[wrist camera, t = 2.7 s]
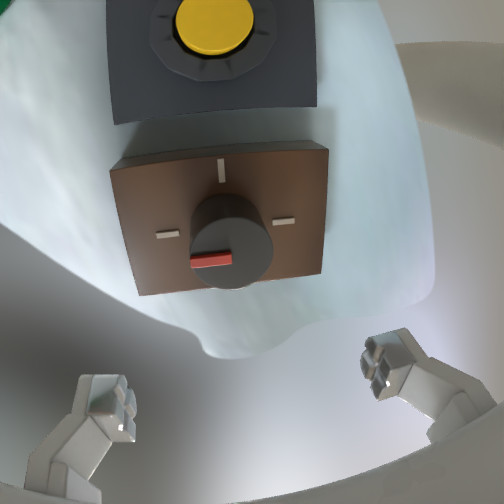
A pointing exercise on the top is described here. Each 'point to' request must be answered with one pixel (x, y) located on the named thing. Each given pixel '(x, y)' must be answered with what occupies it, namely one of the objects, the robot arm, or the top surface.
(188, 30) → the button
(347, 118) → the top surface
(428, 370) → the robot arm
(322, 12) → the top surface
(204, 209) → the knob
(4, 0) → the soda can
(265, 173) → the dial panel
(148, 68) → the button box
